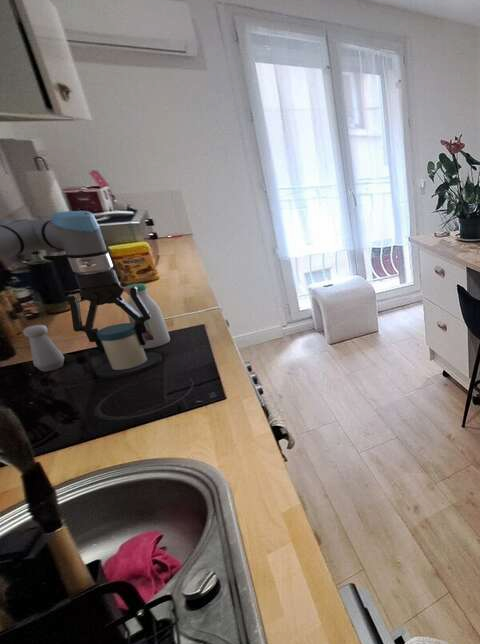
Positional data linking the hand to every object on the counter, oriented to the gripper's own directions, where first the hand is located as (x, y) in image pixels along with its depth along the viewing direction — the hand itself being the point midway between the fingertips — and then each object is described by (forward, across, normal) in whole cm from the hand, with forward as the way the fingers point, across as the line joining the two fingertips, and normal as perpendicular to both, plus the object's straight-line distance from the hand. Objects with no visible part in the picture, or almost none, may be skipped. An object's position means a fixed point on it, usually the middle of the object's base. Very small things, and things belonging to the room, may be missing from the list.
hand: (123, 347), depth 116 cm
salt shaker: (+6, -18, +11) cm, 22 cm away
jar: (+5, 0, 0) cm, 5 cm away
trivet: (+6, 0, 0) cm, 6 cm away
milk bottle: (+6, +4, +15) cm, 17 cm away
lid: (-5, 0, 0) cm, 5 cm away
